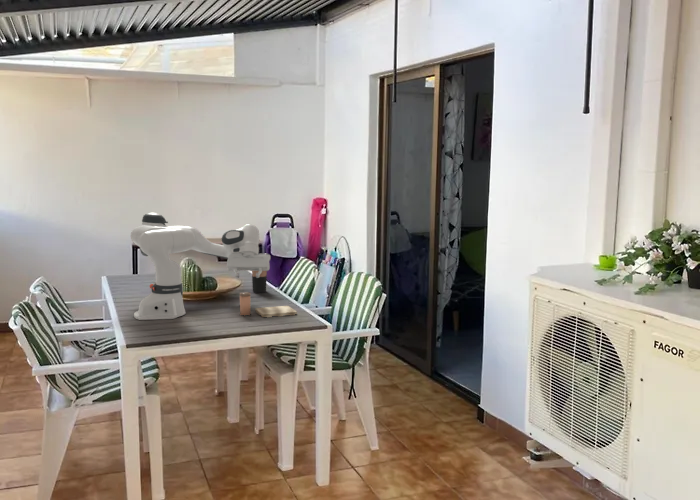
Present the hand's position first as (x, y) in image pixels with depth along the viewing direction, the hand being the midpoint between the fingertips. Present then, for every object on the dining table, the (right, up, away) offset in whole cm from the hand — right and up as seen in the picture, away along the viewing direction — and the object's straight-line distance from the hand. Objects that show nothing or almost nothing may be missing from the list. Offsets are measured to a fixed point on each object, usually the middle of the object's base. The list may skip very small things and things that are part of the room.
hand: (247, 277), depth 308 cm
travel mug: (0, -10, +41) cm, 42 cm away
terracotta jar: (0, -17, -10) cm, 19 cm away
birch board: (+14, -16, -6) cm, 23 cm away
